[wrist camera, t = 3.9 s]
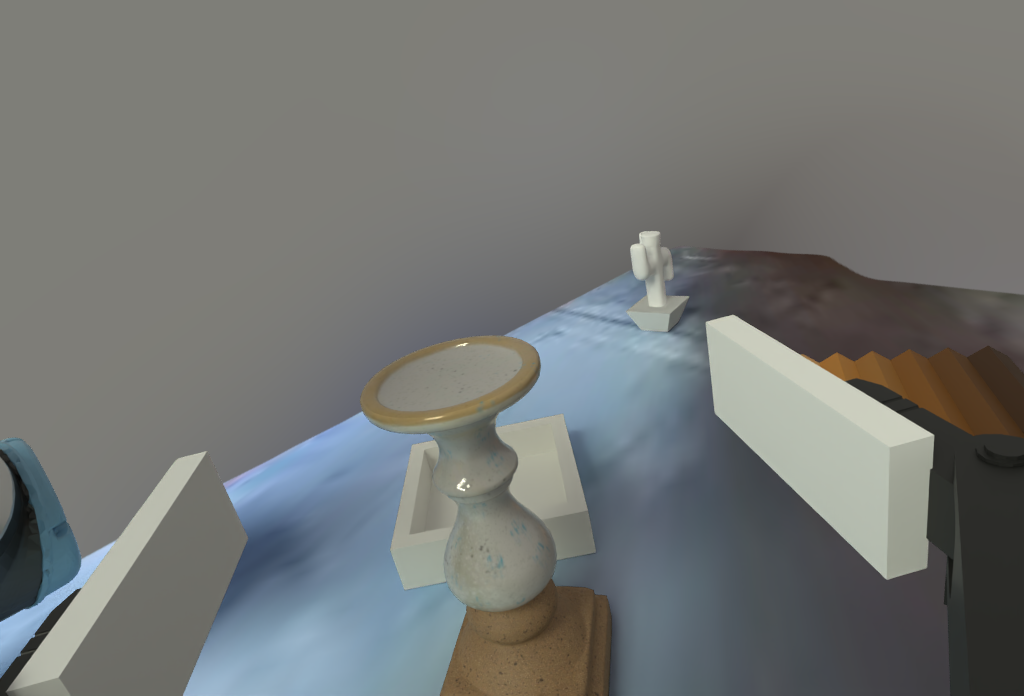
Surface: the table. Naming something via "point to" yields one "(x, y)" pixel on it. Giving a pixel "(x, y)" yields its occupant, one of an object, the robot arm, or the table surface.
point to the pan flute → (948, 386)
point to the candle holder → (494, 525)
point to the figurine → (654, 285)
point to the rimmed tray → (536, 484)
